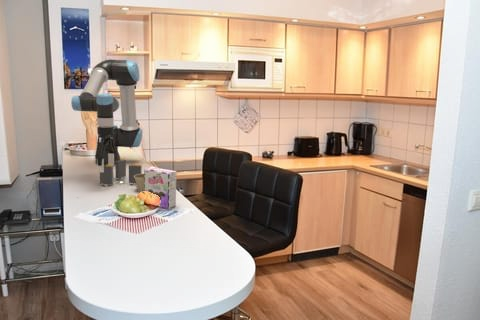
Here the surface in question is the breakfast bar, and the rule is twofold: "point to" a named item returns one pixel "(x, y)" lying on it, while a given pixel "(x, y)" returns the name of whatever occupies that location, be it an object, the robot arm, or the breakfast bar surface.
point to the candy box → (161, 185)
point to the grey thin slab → (134, 172)
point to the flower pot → (139, 182)
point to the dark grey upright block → (107, 175)
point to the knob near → (120, 168)
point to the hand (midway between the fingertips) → (106, 169)
